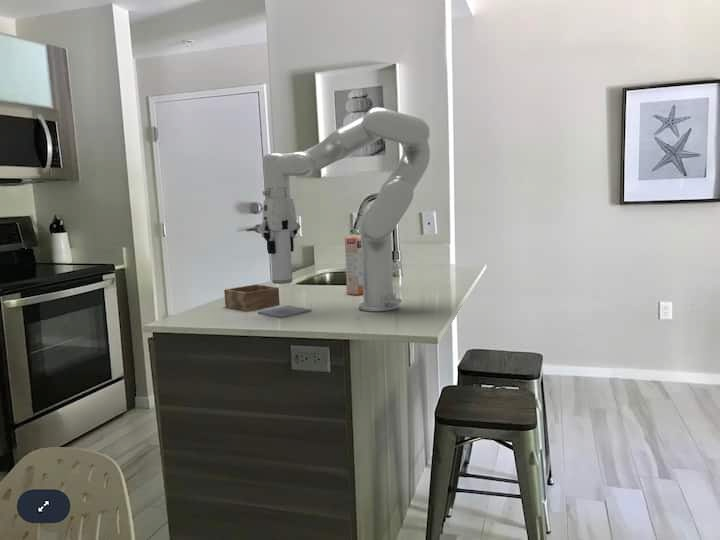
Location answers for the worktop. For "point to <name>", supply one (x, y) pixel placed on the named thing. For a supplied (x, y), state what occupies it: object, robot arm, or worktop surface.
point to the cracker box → (354, 265)
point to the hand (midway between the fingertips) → (280, 251)
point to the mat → (284, 311)
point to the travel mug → (282, 256)
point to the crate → (252, 297)
